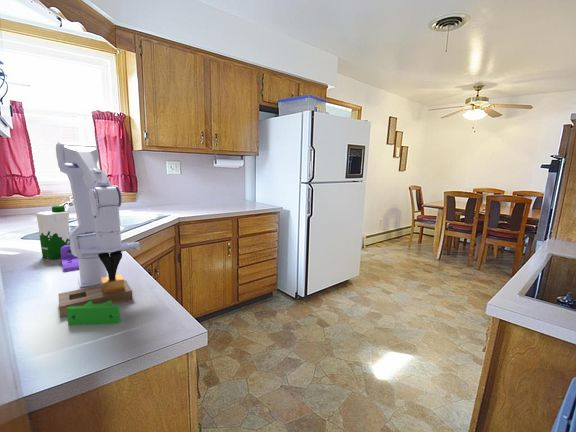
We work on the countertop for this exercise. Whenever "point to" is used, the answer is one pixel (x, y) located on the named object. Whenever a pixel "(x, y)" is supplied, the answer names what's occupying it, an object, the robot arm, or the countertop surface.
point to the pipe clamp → (93, 314)
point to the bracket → (68, 259)
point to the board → (92, 297)
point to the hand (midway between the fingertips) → (112, 278)
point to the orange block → (112, 284)
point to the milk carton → (53, 231)
